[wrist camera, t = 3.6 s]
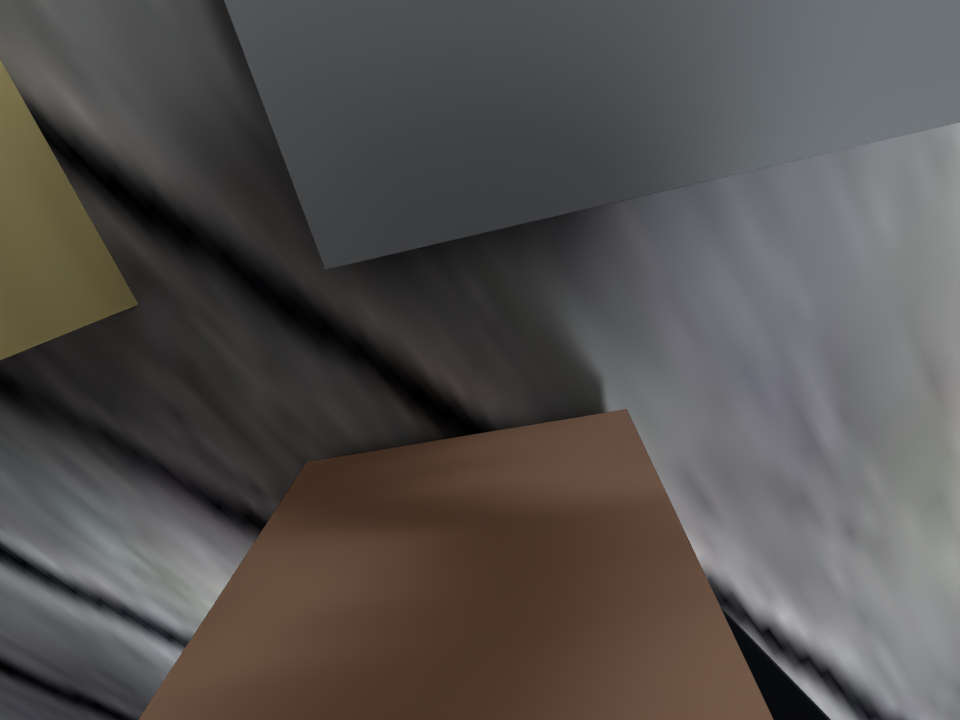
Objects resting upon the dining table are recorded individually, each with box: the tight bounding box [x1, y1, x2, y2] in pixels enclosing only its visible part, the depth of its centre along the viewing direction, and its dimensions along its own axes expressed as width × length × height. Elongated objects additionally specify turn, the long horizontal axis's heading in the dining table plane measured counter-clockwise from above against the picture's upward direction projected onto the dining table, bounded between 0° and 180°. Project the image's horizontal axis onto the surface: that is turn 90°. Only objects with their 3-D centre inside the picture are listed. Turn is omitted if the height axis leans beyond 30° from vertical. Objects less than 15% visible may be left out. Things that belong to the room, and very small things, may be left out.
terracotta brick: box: [139, 409, 773, 720], centre depth 7 cm, size 6×6×5 cm
